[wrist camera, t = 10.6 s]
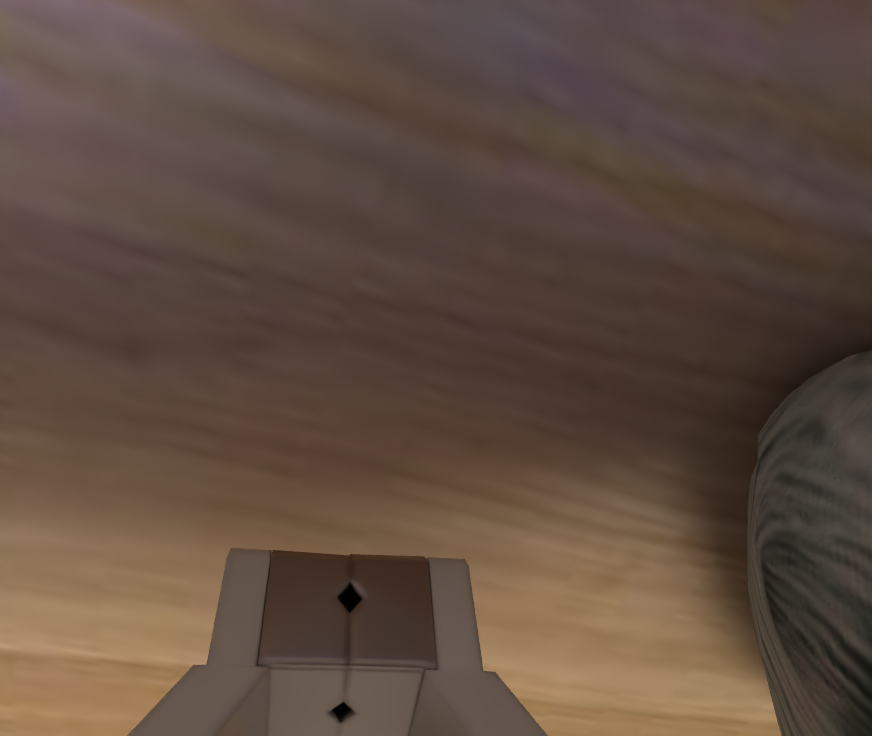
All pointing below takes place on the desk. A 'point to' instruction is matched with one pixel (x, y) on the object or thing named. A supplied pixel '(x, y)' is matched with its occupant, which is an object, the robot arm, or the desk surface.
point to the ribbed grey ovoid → (816, 552)
